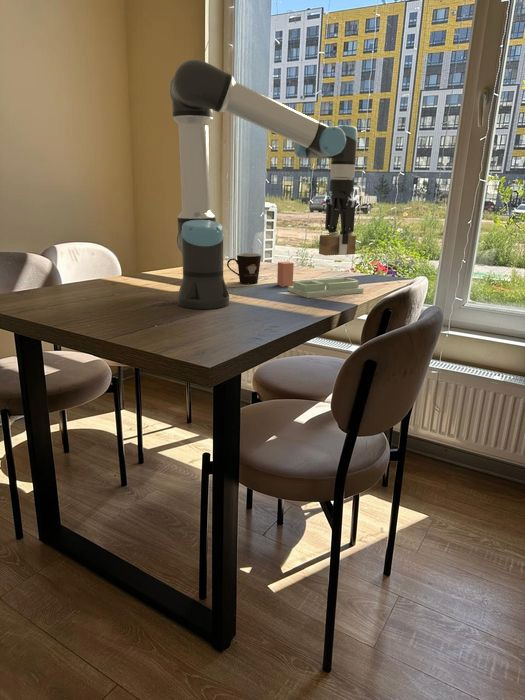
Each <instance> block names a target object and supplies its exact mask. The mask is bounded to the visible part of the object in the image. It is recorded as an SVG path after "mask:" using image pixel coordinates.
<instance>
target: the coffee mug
mask: <svg viewBox="0 0 525 700" xmlns="http://www.w3.org/2000/svg"><path fill="white" fill-rule="evenodd" d="M236 258H237V259H236ZM236 258H230V259H228V260H227V264H226V267H227V268H228V269H229V270H230V271H231V272H232V273H234V274H235V275H236V276H238V278H239V284H242V285H257V284H258V282H259V276H260V275H259V274H260V267H261V259H262V254H261V253H257V252H256V253H255V252H253V253H252V252H240V253H237V254H236ZM231 261H235V263H236V265H237V269H238V272H236V271H235V270H233V269H232V268H231V267H230V266H229V265H230V264H229V263H230V262H231Z"/></svg>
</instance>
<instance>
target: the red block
mask: <svg viewBox="0 0 525 700" xmlns="http://www.w3.org/2000/svg"><path fill="white" fill-rule="evenodd" d="M294 266H295V265H294V262H290V261H278V262H277V280H276V284H277V286H279V285H280V286H279V287H282V288H284V287H285V286H287V287H288V286H293V282H294Z"/></svg>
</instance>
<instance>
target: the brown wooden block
mask: <svg viewBox="0 0 525 700" xmlns="http://www.w3.org/2000/svg"><path fill="white" fill-rule="evenodd" d="M340 232H342V231H341V229H340V230H339V233H340ZM339 238H340V234H338V235H329V234H320V235H319V241H318V242H319V244H318V245H319V246H318V254H319V255H321V256H322V255H323V256H325V257H326V256H340V255H339V254H338V253H339ZM356 240H357V235H354V234H353V232H351V233H349V235H348V244H347V254H343V255H342V256H344V255H345V256H346V255H347V256H348V255H356V254H355V253H356V243H357V241H356Z"/></svg>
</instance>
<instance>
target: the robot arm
mask: <svg viewBox="0 0 525 700" xmlns="http://www.w3.org/2000/svg"><path fill="white" fill-rule="evenodd" d="M169 93H170V94H169V95H170V97H171V98H170V99H171V104H172V105H171V106H172V119H173V121H175V123H176V124H177V125H178V139H179V140H178V141H179V165H180V186H181V187H180V188H181V190H180V191H181V212H180V213H179V214H178V215H177V235H176V243H177V248H178V249H179V251H180V253H181V254H182V280H181V283H180V286H179V288H178V289H179V290H178V293H177V296H176V297H177V305H178V306H180V307H182V308H183V307H184V308H186V309H187V308H188V309H196V310H197V309H198V310H207V309H208V310H210V309H219V308H220V309H221V308H223V307H227V306H229V305H230V295H229V291H228V287H227V284H226V282H225V281H226V280H225V278H224V237H225V233H224V227H223V225H222V224H221V223H220V222H218V221H217V219H216V215H215V214H214V213H213V212H212V211H211V178H210V177H211V175H210V171H211V170H210V141H209V139H210V133H209V126H210V124H211V123H212V122H213V121H214V111H215V112H217V113H222V112H227V113H229V114H231V115H233V116H236V117H238V118H240V119H243V120H245V121H247V122H249V123H252V124H253V125H255V126H258V127H260V128H262V129H264V130H267V131H269V132H271V133H273V134H276V135H277V136H280V137H282V138H284V139H286V140H288V141H291V142H293V144H294V145H293V149H294V154H295V157H297V158H303V159H329V160H331V162H330V173H329V174H330V176H329V177H330V178H331V179H330V180H329V181H330V182H329V191H330V192H331V193H332V194H331V197H330V198H326V199H325V205H326V207H325V208H326V209H325V222H324V224H325V225H324V228H325V230H327V232H328V235H340V238H339V253H338V254H339V255H338V256H344V255H343V254H347V244H348V235H349V233H351V232H352V233H353V232H354V230H355V216H356V206H357V204H358V203H357V202H358V201H357V200H353V199H352V196H351V194H352V193H353V192H354V187H355V181H354V180H353V179H354V178H355V171H356V160H357V147H358V129H357V127H356V126H354V125H336V126H334V125H330V126H329V125H327V124H324V123H322V122H320V121H318V120H316V119H314V118H312V117H310V116H307V115H306V114H303V113H302V112H299V111H298V110H295V109H293V108H291V107H289V106H287V105H285V104H283V103H281V102H278V101H276V100H275V99H272V98H270V97H268V96H266V95H263V94H262V93H260V92H257V91H256V90H254V89H252V88H249V87H247V86H245V85H243V84H242V83H239V82H237V81H235V78H234V76H233V74H230V73H228V72H226V71H224V70H222V69H220V68H218V67H216V66H215V65H213V64H210V63H209V62H206V61H204V60H201V59H196V58H195V59H188V60H186V61H183V62H182V63H181V64H180V65H179V66H178V67H177V68H176V71H175V73H174V76H173V78H172V80H171V82H170V86H169ZM339 218H340V230H341V231H342V232H340V231H338V223H339ZM338 233H339V234H338Z"/></svg>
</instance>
